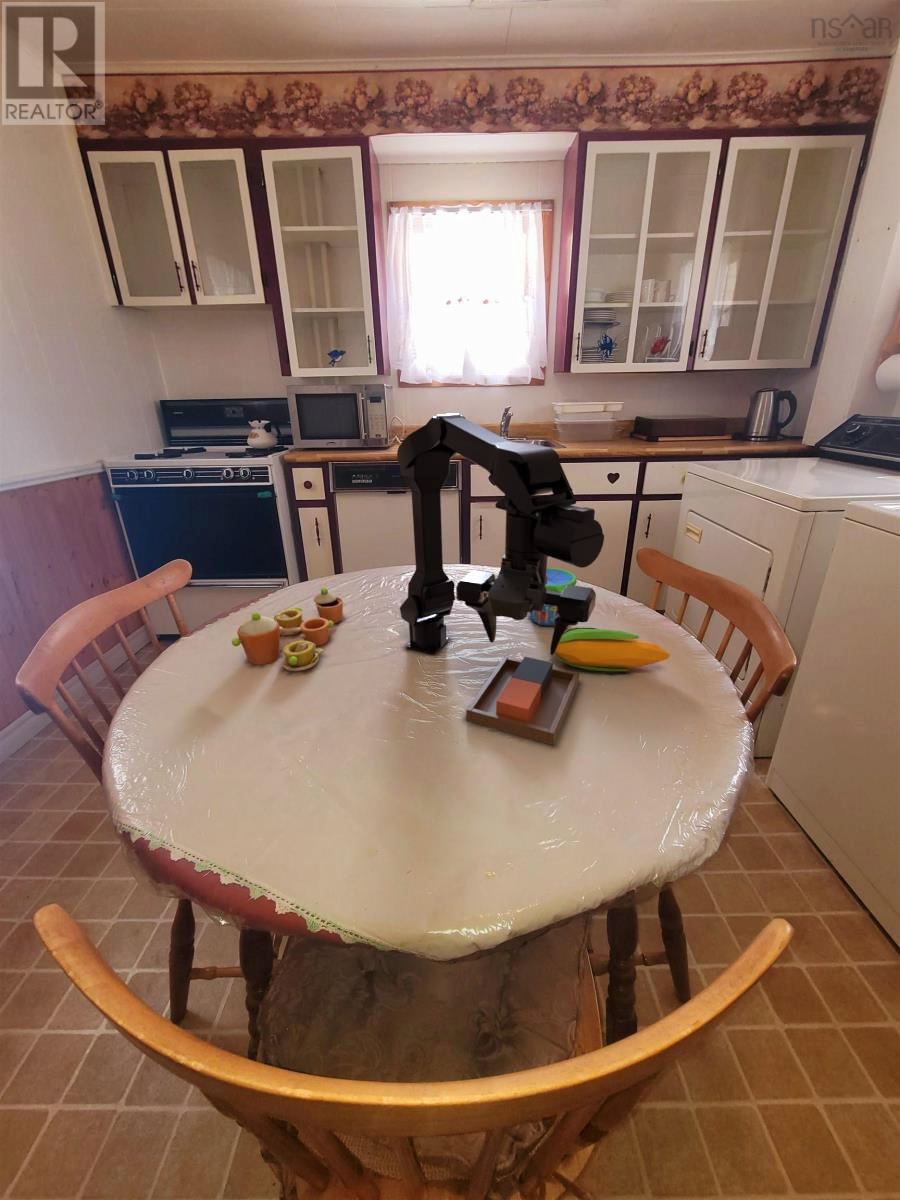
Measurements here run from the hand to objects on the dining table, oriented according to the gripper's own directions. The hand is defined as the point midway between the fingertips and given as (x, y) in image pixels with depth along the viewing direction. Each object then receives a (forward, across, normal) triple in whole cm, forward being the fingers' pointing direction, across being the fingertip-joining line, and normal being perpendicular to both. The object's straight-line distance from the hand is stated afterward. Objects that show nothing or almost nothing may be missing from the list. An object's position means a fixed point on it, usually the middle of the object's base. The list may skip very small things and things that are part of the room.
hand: (521, 647), depth 71 cm
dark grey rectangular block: (+11, 0, +7) cm, 13 cm away
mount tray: (+12, 0, +4) cm, 12 cm away
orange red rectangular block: (+11, 0, 0) cm, 11 cm away
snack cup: (+12, -4, +34) cm, 36 cm away
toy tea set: (+12, -48, +5) cm, 50 cm away
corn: (+12, +10, +20) cm, 25 cm away
